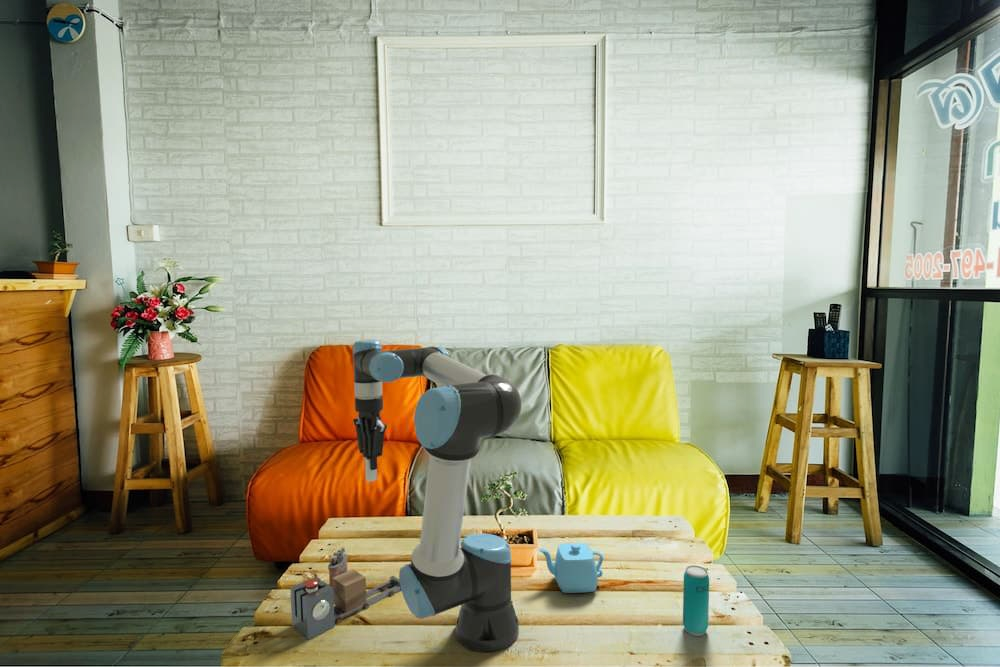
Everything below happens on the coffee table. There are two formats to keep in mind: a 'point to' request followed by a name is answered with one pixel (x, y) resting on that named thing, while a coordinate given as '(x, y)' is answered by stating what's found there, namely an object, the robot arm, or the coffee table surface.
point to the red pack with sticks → (337, 564)
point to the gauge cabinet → (312, 609)
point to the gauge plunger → (311, 585)
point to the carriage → (349, 590)
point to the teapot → (575, 567)
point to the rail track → (384, 594)
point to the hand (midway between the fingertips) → (371, 479)
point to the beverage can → (696, 600)
